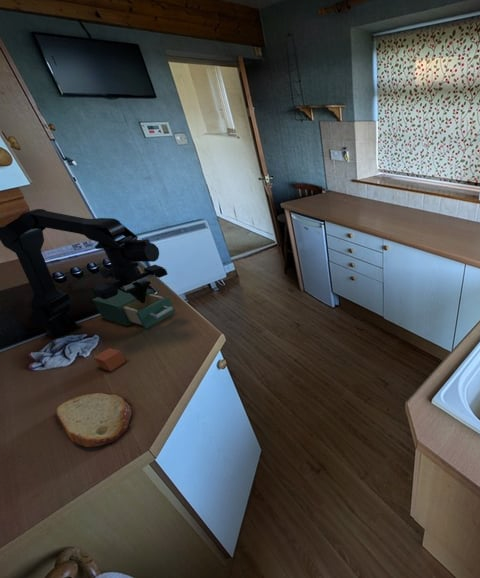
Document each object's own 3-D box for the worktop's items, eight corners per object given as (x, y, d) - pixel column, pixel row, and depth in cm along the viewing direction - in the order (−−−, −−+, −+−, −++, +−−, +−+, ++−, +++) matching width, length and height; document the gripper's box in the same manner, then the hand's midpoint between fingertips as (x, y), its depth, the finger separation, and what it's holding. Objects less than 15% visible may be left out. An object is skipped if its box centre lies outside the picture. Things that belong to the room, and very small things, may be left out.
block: (110, 371, 88) (103, 360, 85) (100, 367, 89) (93, 357, 87) (125, 361, 91) (119, 351, 89) (116, 358, 92) (109, 347, 90)
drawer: (183, 313, 112) (177, 298, 109) (154, 331, 103) (147, 315, 99) (152, 305, 117) (145, 290, 113) (121, 321, 107) (113, 306, 104)
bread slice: (65, 403, 78) (58, 394, 76) (145, 385, 83) (140, 376, 82) (22, 469, 63) (11, 459, 61) (122, 442, 69) (115, 432, 67)
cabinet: (161, 308, 116) (153, 289, 112) (128, 326, 106) (117, 306, 102) (137, 301, 120) (128, 283, 116) (103, 318, 110) (91, 299, 106)
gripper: (140, 245, 101) (157, 284, 109) (71, 266, 86) (96, 310, 94) (159, 252, 97) (176, 292, 104) (90, 275, 82) (115, 319, 90)
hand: (142, 302), depth 98 cm, fingers closed
